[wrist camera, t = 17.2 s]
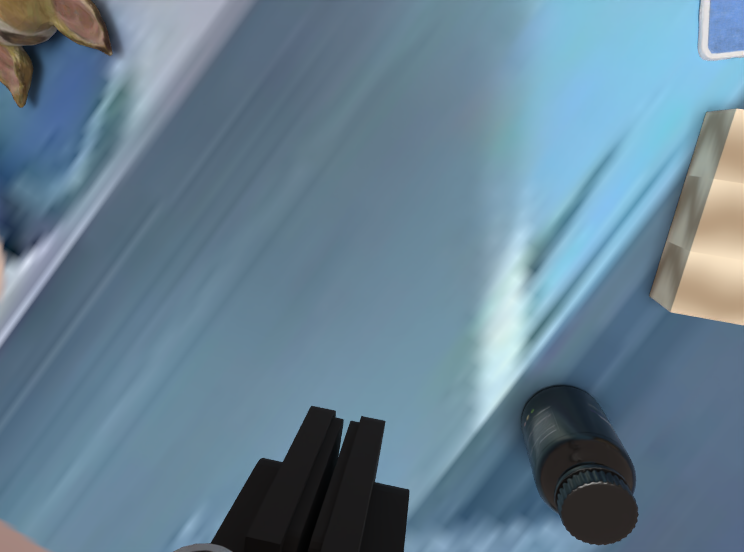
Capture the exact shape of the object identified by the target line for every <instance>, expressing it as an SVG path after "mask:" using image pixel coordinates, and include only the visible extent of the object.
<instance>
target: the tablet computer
mask: <svg viewBox="0 0 744 552" xmlns="http://www.w3.org/2000/svg"><path fill="white" fill-rule="evenodd" d="M698 53H699V55H700V57H701V58H702V59H703V60H707V61H717V60H724V59H730V58H734V57H737V58H741V57H744V0H701V3H700V12H699V38H698Z"/></svg>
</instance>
